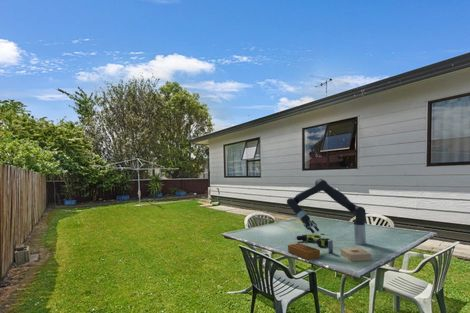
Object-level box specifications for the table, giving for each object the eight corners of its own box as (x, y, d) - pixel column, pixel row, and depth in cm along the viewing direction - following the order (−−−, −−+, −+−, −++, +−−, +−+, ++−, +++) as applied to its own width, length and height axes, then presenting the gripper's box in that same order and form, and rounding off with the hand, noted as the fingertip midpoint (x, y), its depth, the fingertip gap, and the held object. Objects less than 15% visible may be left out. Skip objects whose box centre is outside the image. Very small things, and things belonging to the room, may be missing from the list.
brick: (288, 252, 230) (287, 245, 230) (299, 249, 235) (299, 242, 236) (308, 260, 208) (307, 252, 208) (320, 257, 213) (319, 249, 213)
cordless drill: (303, 248, 238) (294, 241, 263) (330, 247, 241) (319, 240, 266) (303, 239, 238) (294, 233, 263) (330, 238, 241) (318, 232, 266)
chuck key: (327, 252, 224) (327, 240, 225) (332, 252, 224) (331, 239, 225) (329, 253, 221) (328, 241, 221) (333, 253, 221) (333, 241, 221)
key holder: (340, 254, 218) (340, 248, 218) (360, 253, 219) (360, 247, 219) (350, 261, 202) (349, 254, 202) (371, 260, 203) (371, 253, 203)
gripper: (302, 215, 232) (315, 230, 224) (309, 212, 243) (322, 227, 235) (296, 220, 236) (309, 236, 227) (304, 218, 246) (317, 233, 238)
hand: (316, 231), depth 231 cm, fingers open, 8 cm apart
